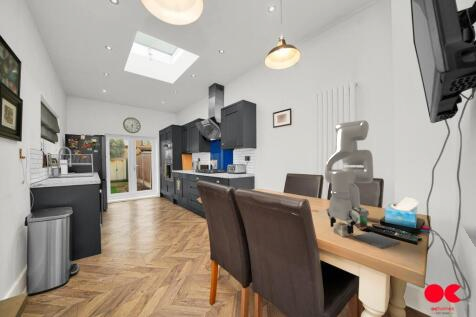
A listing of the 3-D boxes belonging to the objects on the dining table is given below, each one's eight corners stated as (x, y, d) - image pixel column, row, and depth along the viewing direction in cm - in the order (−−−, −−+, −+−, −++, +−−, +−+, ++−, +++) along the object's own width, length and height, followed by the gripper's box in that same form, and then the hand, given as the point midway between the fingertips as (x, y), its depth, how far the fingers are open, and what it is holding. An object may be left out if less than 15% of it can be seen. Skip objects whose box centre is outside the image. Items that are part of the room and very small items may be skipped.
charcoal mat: (354, 237, 85) (354, 235, 85) (371, 233, 89) (371, 231, 89) (381, 248, 74) (381, 247, 74) (400, 243, 78) (400, 242, 78)
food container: (374, 232, 90) (373, 212, 90) (361, 231, 91) (360, 212, 91) (362, 223, 102) (362, 206, 102) (350, 223, 103) (350, 205, 103)
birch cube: (333, 233, 91) (333, 223, 91) (341, 231, 92) (340, 221, 92) (342, 237, 86) (342, 226, 86) (350, 235, 88) (349, 225, 88)
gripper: (321, 193, 96) (322, 225, 96) (350, 199, 80) (352, 237, 80) (331, 192, 99) (332, 223, 98) (362, 198, 82) (364, 235, 82)
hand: (341, 229), depth 89 cm, fingers open, 9 cm apart
